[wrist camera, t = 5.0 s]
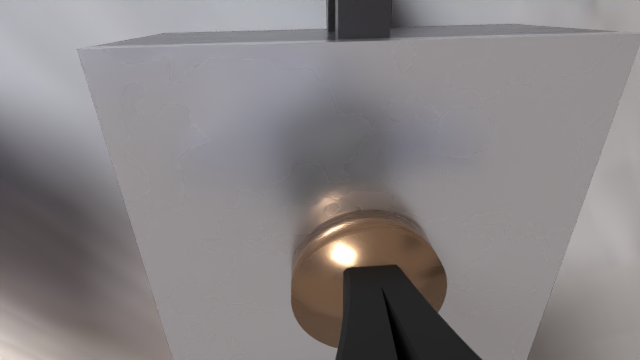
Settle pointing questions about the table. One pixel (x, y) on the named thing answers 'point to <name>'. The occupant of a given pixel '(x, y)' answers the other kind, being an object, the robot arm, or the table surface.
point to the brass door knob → (358, 251)
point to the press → (354, 163)
